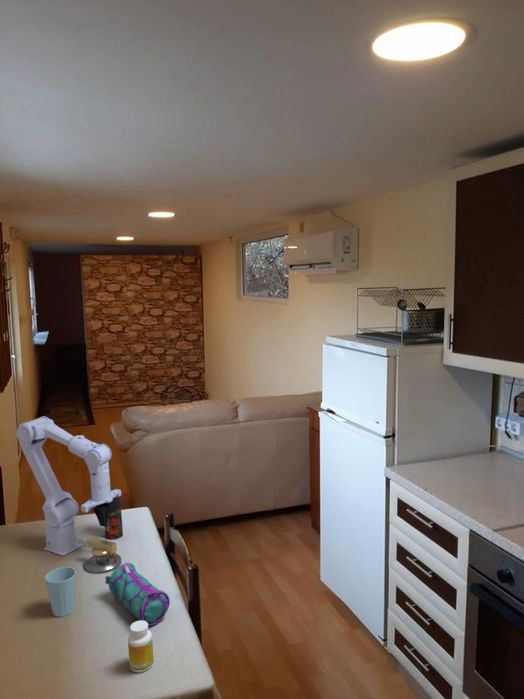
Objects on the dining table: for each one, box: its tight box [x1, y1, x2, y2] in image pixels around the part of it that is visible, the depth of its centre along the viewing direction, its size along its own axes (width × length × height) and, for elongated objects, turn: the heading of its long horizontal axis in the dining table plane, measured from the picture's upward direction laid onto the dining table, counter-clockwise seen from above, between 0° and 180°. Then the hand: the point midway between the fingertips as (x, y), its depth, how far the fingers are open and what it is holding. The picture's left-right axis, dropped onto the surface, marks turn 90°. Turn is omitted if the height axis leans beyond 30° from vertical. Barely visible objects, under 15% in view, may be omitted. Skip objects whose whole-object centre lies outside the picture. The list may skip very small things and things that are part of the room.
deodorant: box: [103, 496, 124, 541], centre depth 187 cm, size 6×6×15 cm
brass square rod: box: [86, 536, 118, 557], centre depth 169 cm, size 6×10×4 cm, turn 63°
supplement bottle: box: [127, 620, 154, 673], centre depth 125 cm, size 5×5×10 cm
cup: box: [44, 566, 77, 618], centre depth 146 cm, size 8×8×10 cm
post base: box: [83, 551, 122, 575], centre depth 170 cm, size 11×11×5 cm
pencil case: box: [104, 562, 171, 627], centre depth 146 cm, size 21×9×10 cm, turn 40°
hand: (103, 525), depth 173 cm, fingers closed
